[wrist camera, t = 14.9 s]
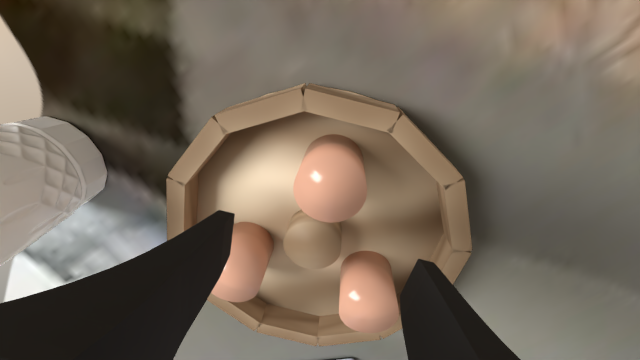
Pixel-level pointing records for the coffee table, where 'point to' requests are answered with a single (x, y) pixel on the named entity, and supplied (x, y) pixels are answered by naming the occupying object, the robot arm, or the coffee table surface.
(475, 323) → the robot arm
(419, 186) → the ring tray
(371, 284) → the bead
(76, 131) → the white cup
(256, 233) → the bead
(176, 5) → the coffee table surface
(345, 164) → the bead
